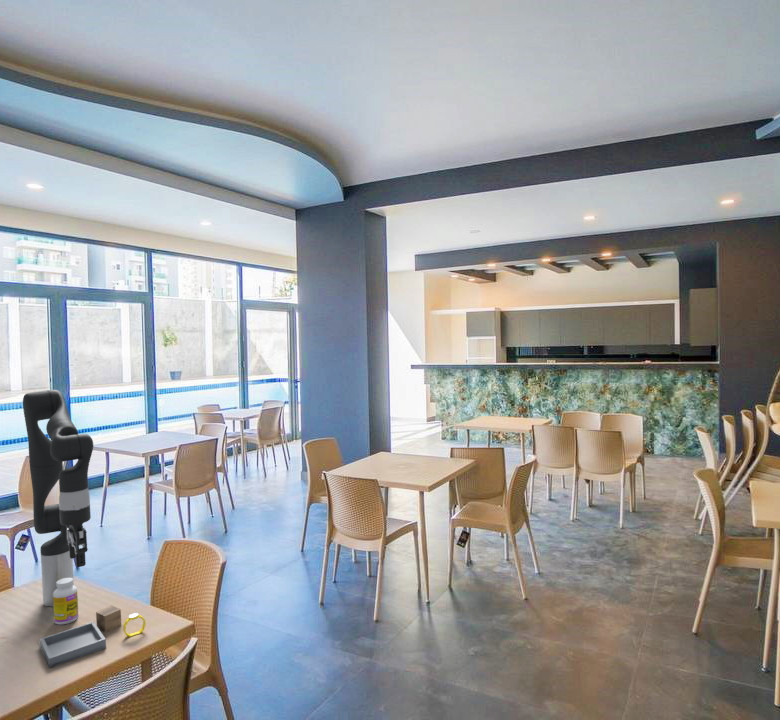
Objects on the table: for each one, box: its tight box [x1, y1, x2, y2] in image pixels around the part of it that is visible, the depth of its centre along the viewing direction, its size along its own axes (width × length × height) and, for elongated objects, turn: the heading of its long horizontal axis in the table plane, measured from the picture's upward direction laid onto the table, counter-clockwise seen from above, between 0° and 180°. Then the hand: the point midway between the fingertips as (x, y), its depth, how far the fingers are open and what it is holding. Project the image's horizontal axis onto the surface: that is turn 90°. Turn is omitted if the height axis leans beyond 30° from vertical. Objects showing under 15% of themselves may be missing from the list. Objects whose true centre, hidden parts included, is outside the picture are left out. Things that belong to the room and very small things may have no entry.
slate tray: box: [39, 620, 107, 669], centre depth 157 cm, size 14×14×3 cm
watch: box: [122, 612, 146, 638], centre depth 164 cm, size 6×3×6 cm, turn 127°
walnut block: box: [95, 605, 122, 633], centre depth 169 cm, size 5×5×5 cm
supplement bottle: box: [53, 578, 79, 626], centre depth 174 cm, size 7×7×13 cm
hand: (77, 561), depth 155 cm, fingers open, 8 cm apart
